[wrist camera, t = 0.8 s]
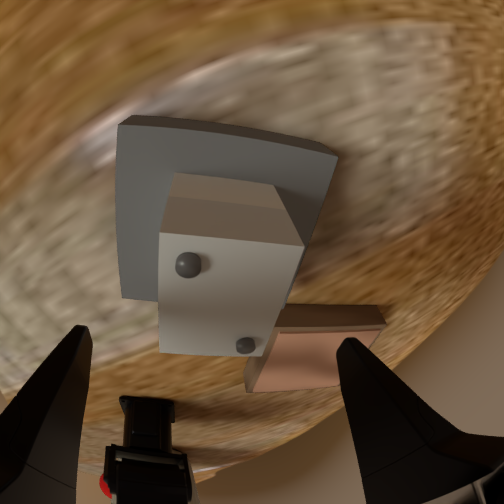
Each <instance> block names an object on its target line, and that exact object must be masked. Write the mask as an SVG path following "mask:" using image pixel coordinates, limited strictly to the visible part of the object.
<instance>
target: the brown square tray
mask: <svg viewBox="0 0 504 504" xmlns="http://www.w3.org/2000/svg"><path fill="white" fill-rule="evenodd" d="M386 325H387V323H386V322H385V320H384V318H383V316H382V314H381V313H380V311H379V309H378V307H377V306H376V305H304V304H285V306H284V309H281V310H280V313H279V315H278V318H277V320H276V323H275V325H274V328H273V330H272V333H271V335H270V337H269V340H268V342H267V345H266V347H265V350H264V352H263V354H262V356H249V359H248V362H247V364H246V367H245V370H244V373H243V375H244V381H245V388H246V393H265V392H283V391H297V390H308V389H318V388H327V387H335V386H339V385H340V380H339V373H338V366H337V360H336V351H337V349H338V348H339V346H340V345H341V343H342V342H343V340H344V339H345V338H347V337H356V338H357V339H358V340H359V341H360V342H362V343H363V344H364V345H365V346H366V347H367V348H368V349H369V348H370V347H371V346H372V344H373V343H374V342H375V340H376V339H377V338H378V336H379V335H380V333H381V332H382V331H383V329H384V328H385V327H386Z"/></svg>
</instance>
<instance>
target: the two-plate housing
mask: <svg viewBox="0 0 504 504" xmlns="http://www.w3.org/2000/svg"><path fill="white" fill-rule="evenodd" d="M304 247H305V246H304V244H303V242H302V240H301V238H300V236H299V234H298V232H297V230H296V228H295V226H294V224H293V222H292V220H291V218H290V216H289V214H288V212H287V210H286V208H285V207H284V205H283V203H282V201H281V199H280V197H279V195H278V193H277V191H276V189H275V187H274V185H270V184H264V183H257V182H250V181H243V180H236V179H228V178H220V177H212V176H204V175H195V174H185V173H175V174H174V177H173V181H172V184H171V188H170V192H169V196H168V199H167V203H166V207H165V211H164V215H163V219H162V224H161V228H160V232H159V260H158V317H159V346H160V352H161V353H174V354H189V355H210V356H262V354H263V352H264V350H265V347H266V345H267V342H268V340H269V337H270V335H271V333H272V330H273V328H274V325H275V323H276V320H277V318H278V315H279V313H280V310H281V308H282V305H283V303H284V300H285V298H286V295H287V292H288V290H289V287H290V285H291V282H292V279H293V277H294V274H295V271H296V269H297V266H298V263H299V261H300V258H301V255H302V253H303V250H304Z"/></svg>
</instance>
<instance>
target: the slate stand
mask: <svg viewBox="0 0 504 504" xmlns="http://www.w3.org/2000/svg"><path fill="white" fill-rule="evenodd" d="M337 160H338V156H337V155H335V154H334V153H333V152H332V151H330V150H329V149H328V148H326V147H325V146H324V145H322V144H321V143H319V142H315V141H310V140H306V139H302V138H297V137H293V136H288V135H284V134H279V133H274V132H269V131H263V130H258V129H252V128H247V127H241V126H234V125H228V124H221V123H213V122H206V121H197V120H188V119H179V118H167V117H154V116H137V115H131V116H130V117H128V118H127V119H126V120H124V121H123V122H121V123H120V124H118V131H117V147H116V178H115V202H116V234H117V251H118V264H119V275H120V285H121V294H122V298H126V299H135V300H145V301H156V302H158V260H159V232H160V228H161V224H162V219H163V215H164V211H165V207H166V203H167V199H168V196H169V192H170V188H171V184H172V181H173V177H174V174H175V173H185V174H195V175H204V176H212V177H220V178H228V179H236V180H243V181H250V182H257V183H264V184H270V185H274V187H275V189H276V191H277V193H278V195H279V197H280V199H281V201H282V203H283V205H284V207H285V208H286V210H287V212H288V214H289V216H290V218H291V220H292V222H293V224H294V226H295V228H296V230H297V232H298V234H299V236H300V238H301V240H302V242H303V244H304V246H305V247H304V250H303V253H302V255H301V258H300V261H299V263H298V266H297V269H296V271H295V274H294V277H293V279H292V282H291V285H290V287H289V290H288V292H287V295H286V298H285V300H284V303H283V305H282V308H281V309H284V306H285V304H286V301H287V299H288V296H289V294H290V291H291V289H292V286H293V283H294V281H295V278H296V276H297V273H298V270H299V268H300V265H301V263H302V260H303V257H304V255H305V252H306V249H307V247H308V244H309V241H310V238H311V236H312V233H313V230H314V227H315V225H316V222H317V219H318V216H319V213H320V211H321V208H322V205H323V202H324V199H325V196H326V193H327V190H328V187H329V184H330V181H331V178H332V175H333V172H334V169H335V166H336V163H337Z"/></svg>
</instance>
